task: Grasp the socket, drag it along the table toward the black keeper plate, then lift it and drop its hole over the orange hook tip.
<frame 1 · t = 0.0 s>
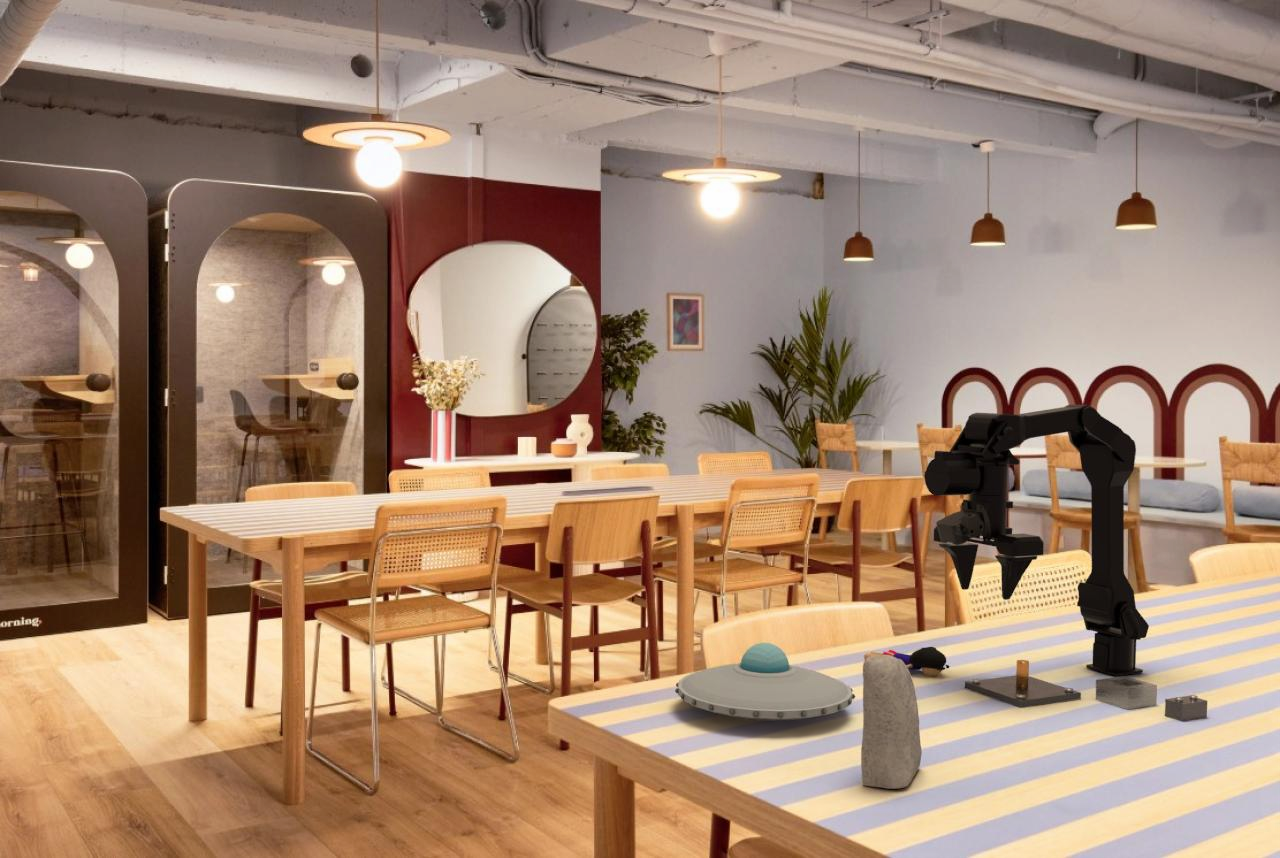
hand: (985, 594, 188), 15 cm above the table, fingers open, 9 cm apart
decorative stone: (892, 778, 146), on the table
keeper: (1021, 693, 186), on the table
socket: (1125, 702, 182), on the table
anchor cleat: (1185, 716, 175), on the table
toy 2: (763, 713, 174), on the table
toy: (905, 672, 200), on the table
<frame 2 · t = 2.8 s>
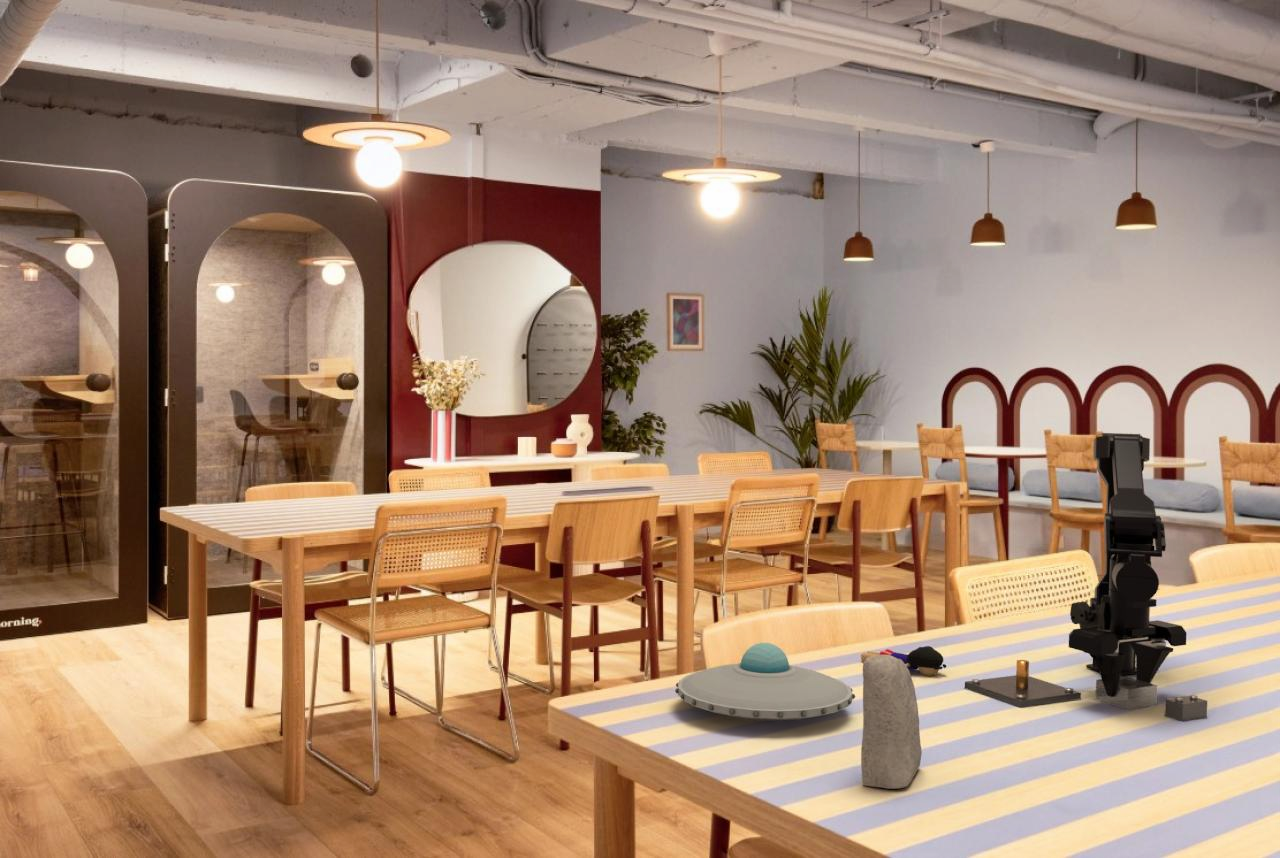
hand: (1126, 694, 182), 1 cm above the table, fingers closed on socket, 6 cm apart
socket: (1125, 702, 182), on the table, touching gripper
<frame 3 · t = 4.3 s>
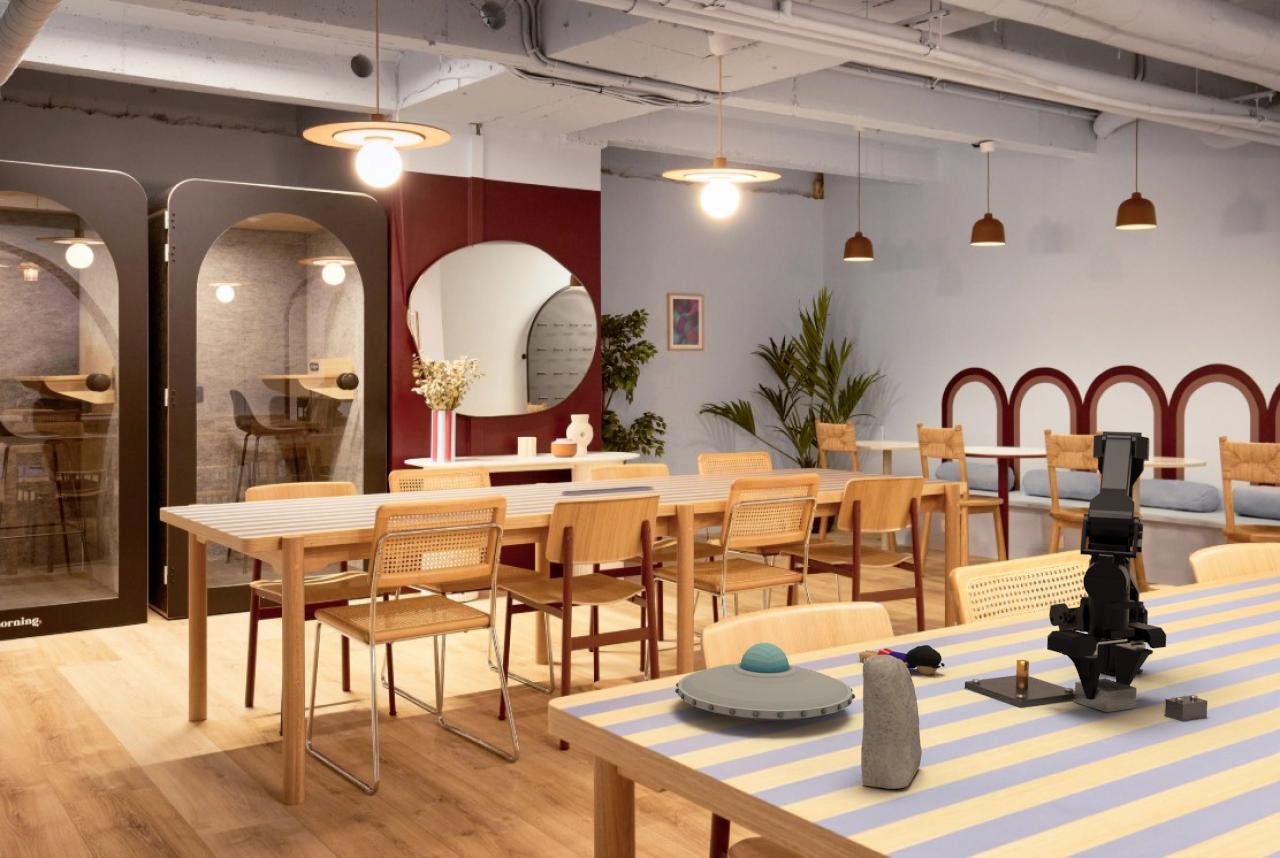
hand: (1105, 696, 180), 1 cm above the table, fingers closed on socket, 6 cm apart
socket: (1105, 705, 180), on the table, touching gripper
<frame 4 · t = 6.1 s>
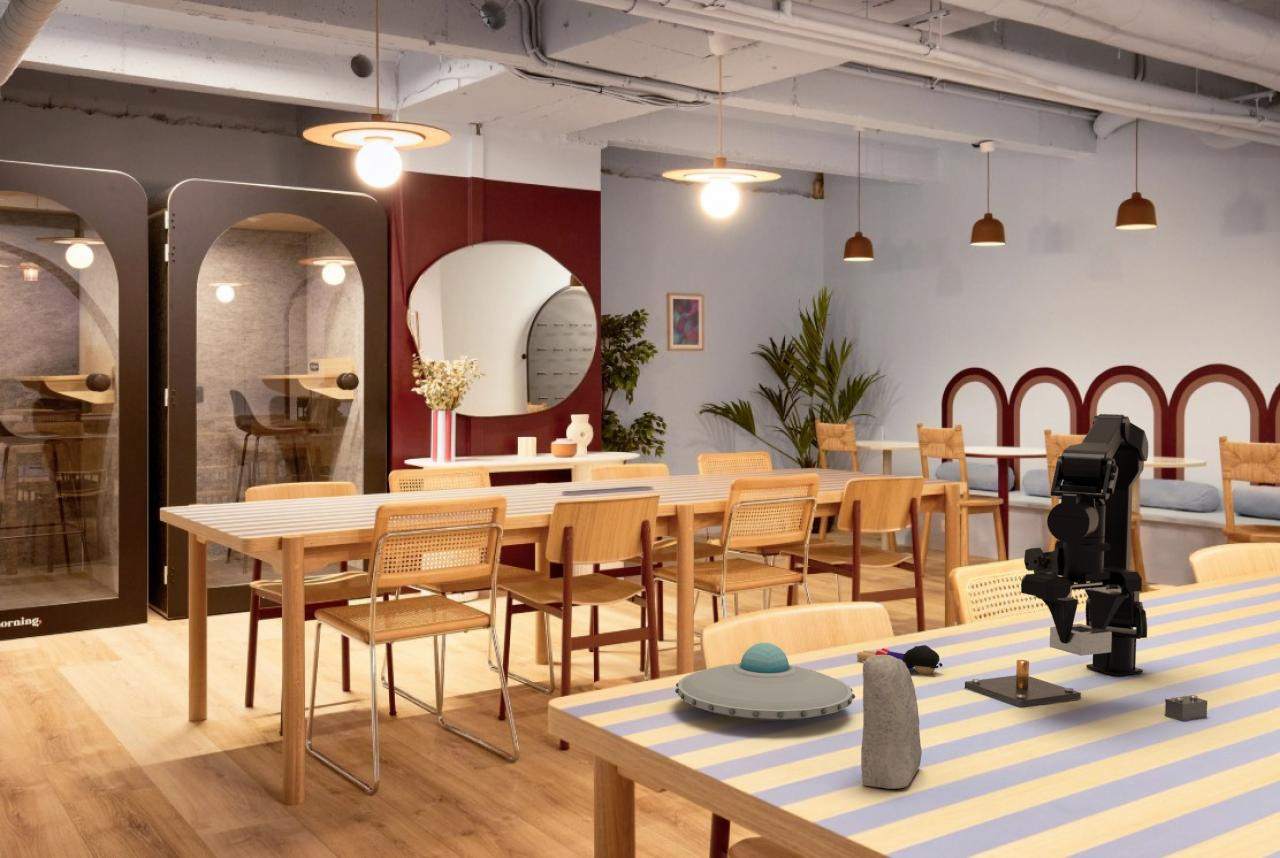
hand: (1080, 641, 178), 10 cm above the table, fingers closed on socket, 6 cm apart
socket: (1080, 649, 178), point 9 cm above the table, touching gripper
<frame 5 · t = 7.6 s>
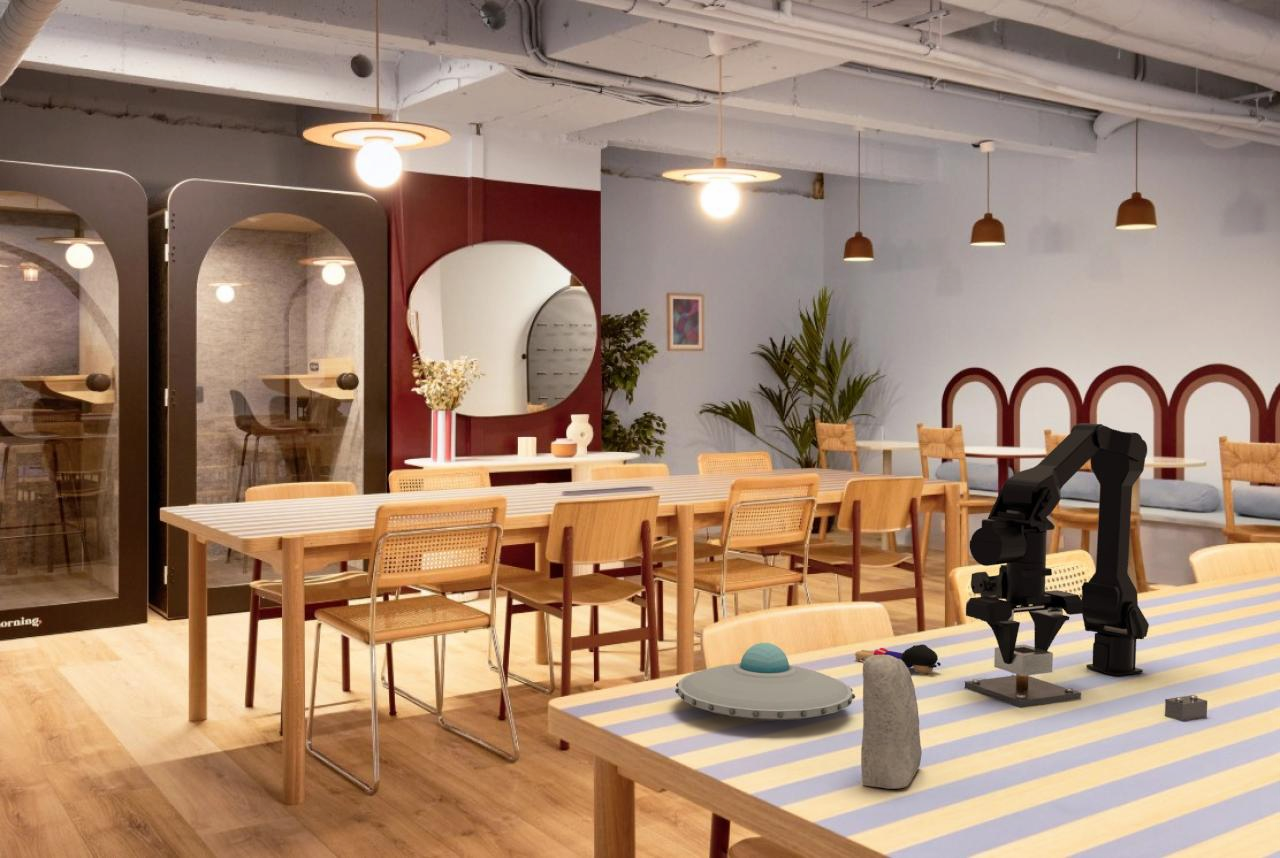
hand: (1023, 661, 186), 5 cm above the table, fingers closed on socket, 6 cm apart
socket: (1023, 669, 186), point 4 cm above the table, touching gripper
when the fingers open (4 cm above the table, at t = 8.5 s): socket drops 2 cm, resting on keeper.
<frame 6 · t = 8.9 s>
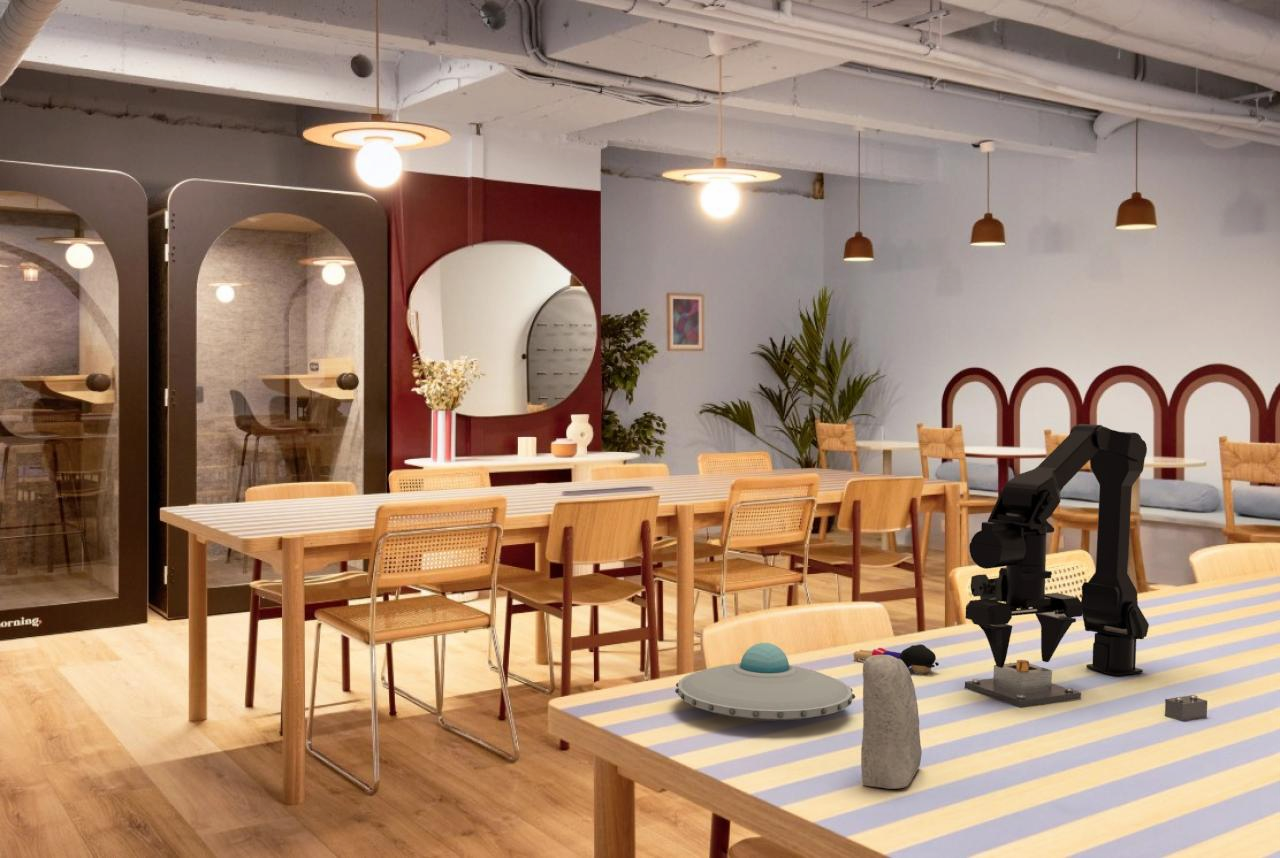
hand: (1022, 664, 186), 4 cm above the table, fingers open, 9 cm apart
socket: (1022, 687, 186), point 1 cm above the table, touching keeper
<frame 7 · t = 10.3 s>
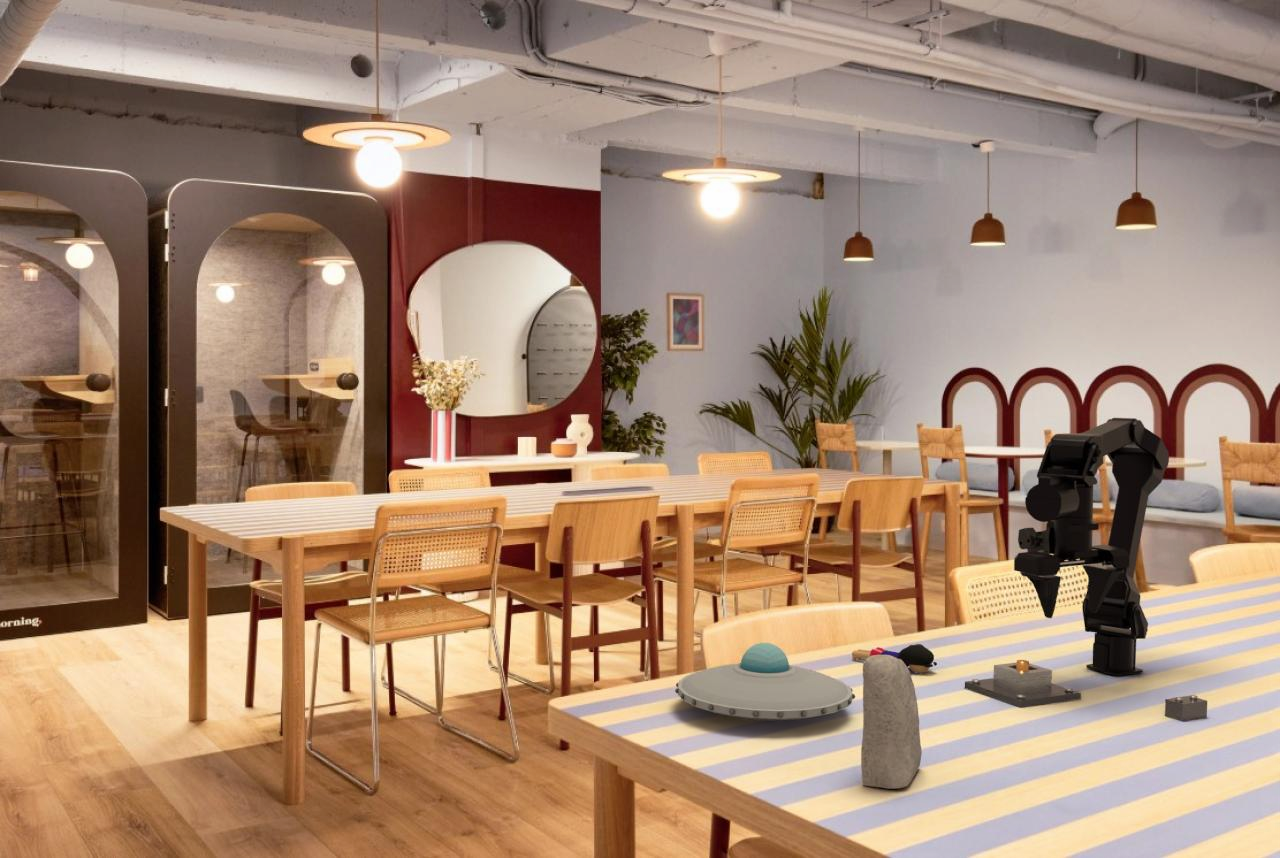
hand: (1071, 615, 189), 12 cm above the table, fingers open, 9 cm apart
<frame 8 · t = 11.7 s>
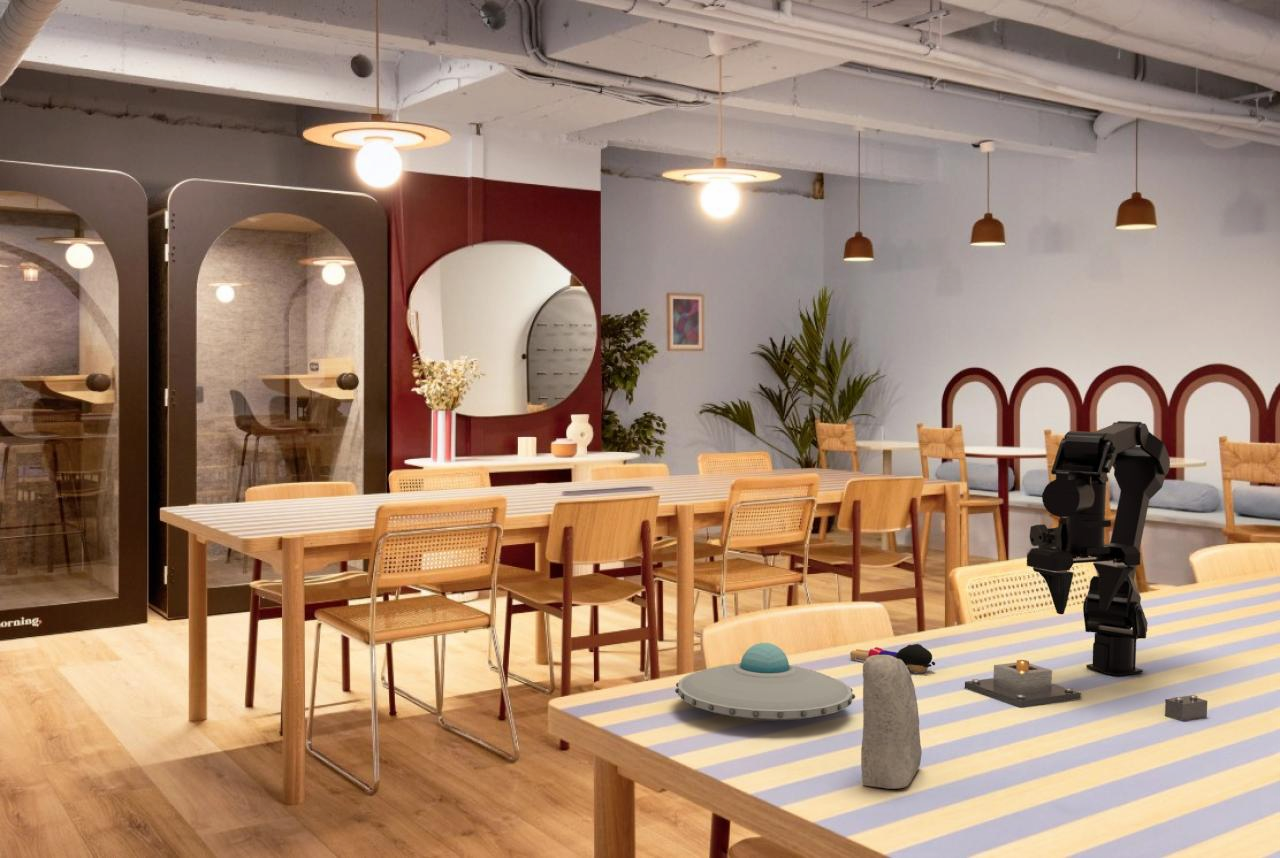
hand: (1082, 611, 189), 12 cm above the table, fingers open, 9 cm apart
at the end: socket 0.0 cm off-centre on the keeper, point 1.0 cm above the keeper's base; the gripper is holding nothing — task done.
